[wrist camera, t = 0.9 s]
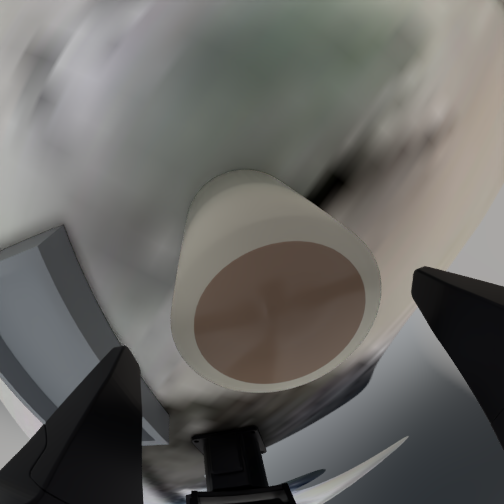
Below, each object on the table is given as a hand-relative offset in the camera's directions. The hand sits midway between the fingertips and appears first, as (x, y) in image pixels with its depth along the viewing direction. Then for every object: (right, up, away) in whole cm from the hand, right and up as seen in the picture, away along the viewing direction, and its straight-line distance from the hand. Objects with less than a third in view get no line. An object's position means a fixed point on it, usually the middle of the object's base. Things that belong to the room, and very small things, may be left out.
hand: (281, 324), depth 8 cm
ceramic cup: (-1, +3, +7) cm, 8 cm away
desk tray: (-15, -6, +8) cm, 18 cm away
